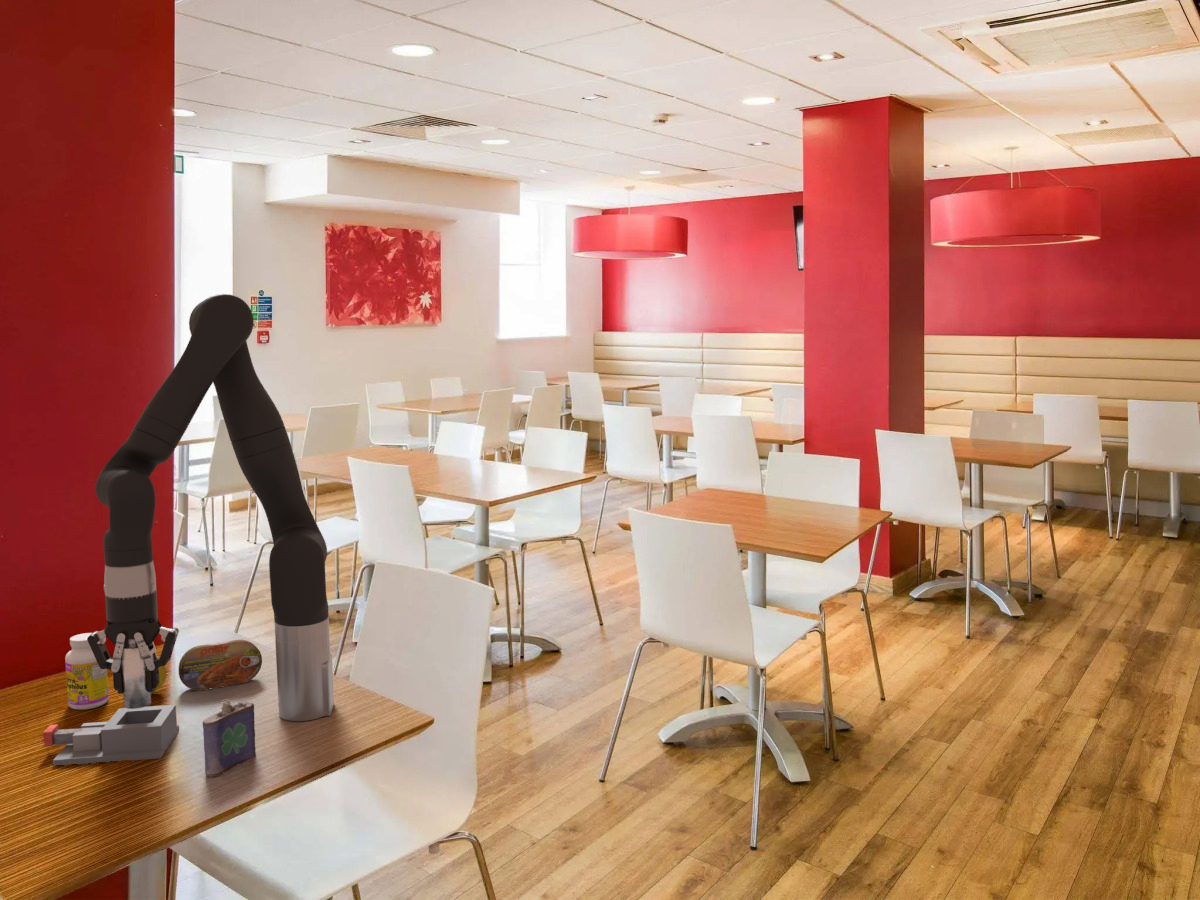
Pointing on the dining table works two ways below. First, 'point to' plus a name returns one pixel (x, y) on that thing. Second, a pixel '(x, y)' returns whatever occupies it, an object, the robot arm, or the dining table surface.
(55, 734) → the lock pin
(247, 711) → the flask
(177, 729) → the mount
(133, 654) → the salt shaker
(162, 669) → the lemon
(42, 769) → the dining table surface
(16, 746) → the dining table surface
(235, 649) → the tin
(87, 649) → the supplement bottle
